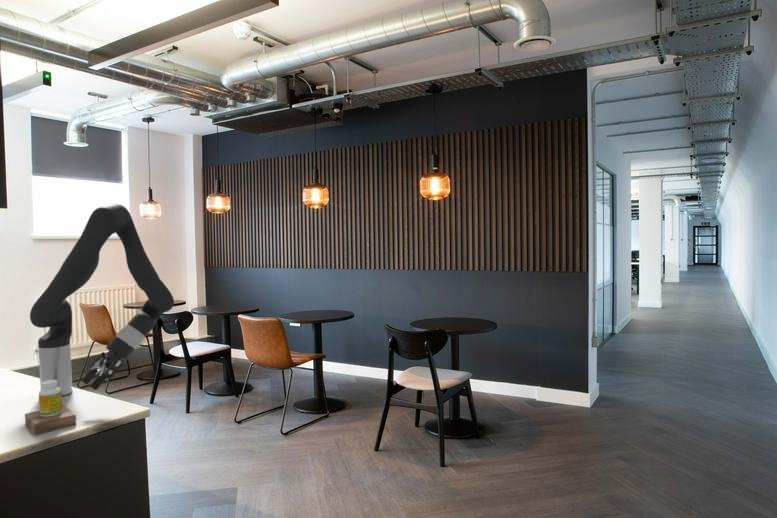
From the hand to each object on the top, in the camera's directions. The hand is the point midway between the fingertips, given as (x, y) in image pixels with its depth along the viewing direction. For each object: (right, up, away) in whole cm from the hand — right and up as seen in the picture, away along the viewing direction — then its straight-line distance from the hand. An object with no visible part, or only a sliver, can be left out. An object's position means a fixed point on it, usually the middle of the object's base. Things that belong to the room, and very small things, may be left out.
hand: (88, 385), depth 156 cm
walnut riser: (-7, -10, -7) cm, 14 cm away
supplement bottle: (-7, -7, -7) cm, 12 cm away
